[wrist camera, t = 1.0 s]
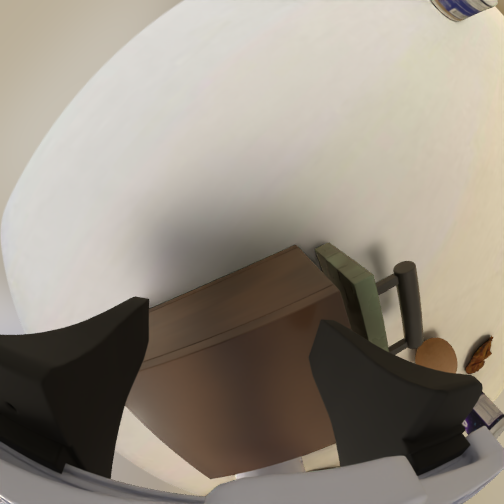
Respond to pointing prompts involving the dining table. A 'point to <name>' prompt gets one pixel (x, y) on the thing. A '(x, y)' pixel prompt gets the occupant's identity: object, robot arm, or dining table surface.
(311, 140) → the dining table surface
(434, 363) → the egg
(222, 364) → the cabinet
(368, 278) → the drawer
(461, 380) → the robot arm
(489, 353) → the leaf
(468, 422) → the beverage can
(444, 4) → the pill bottle
